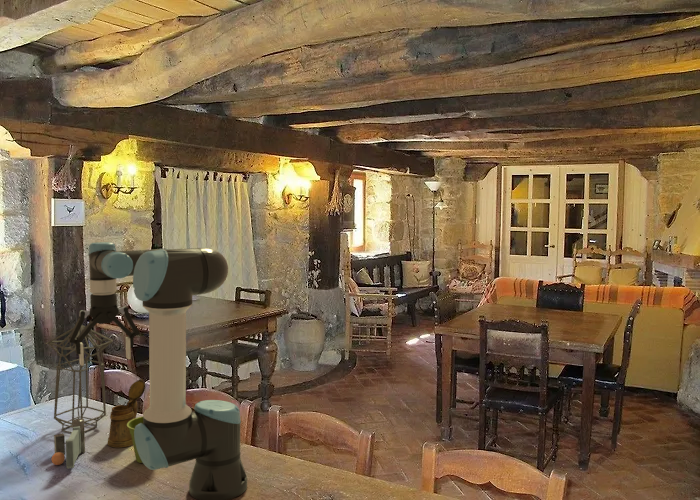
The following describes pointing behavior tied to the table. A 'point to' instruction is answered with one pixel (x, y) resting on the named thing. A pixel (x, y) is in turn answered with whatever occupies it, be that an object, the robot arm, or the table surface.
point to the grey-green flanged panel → (73, 447)
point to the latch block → (59, 443)
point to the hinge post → (81, 423)
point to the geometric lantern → (80, 375)
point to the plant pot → (131, 426)
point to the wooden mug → (125, 417)
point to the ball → (58, 458)
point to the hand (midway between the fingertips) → (105, 361)
